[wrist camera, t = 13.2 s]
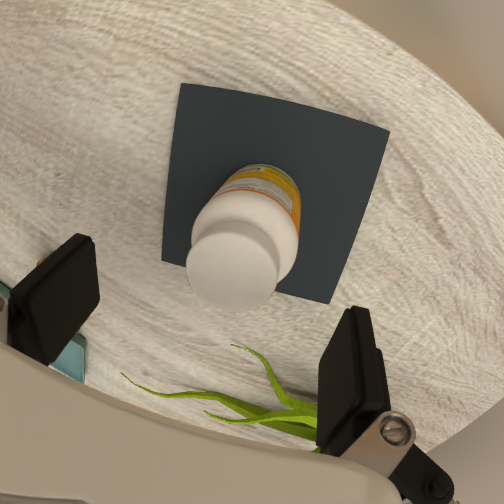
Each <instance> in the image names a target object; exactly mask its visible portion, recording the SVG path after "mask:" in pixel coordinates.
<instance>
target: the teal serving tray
mask: <svg viewBox="0 0 504 504" xmlns="http://www.w3.org/2000/svg"><path fill="white" fill-rule="evenodd" d="M10 291H11V290H10V289H8V288H7V287H6V286H4V285H3V284H1V283H0V294H3V295H4V296H6V298H7V300H8V299H9V298H10V293H9V292H10ZM85 344H86V342H85V339H84V338H83V337H82V336H80V335H78V334H77V333H76V334H75V335H74V336H73V338H72V339H71V340H70V342H69V343H68V344H67V346H66V347H65V348H64V350H63V351H62V352H61V354H60V355H59V357H58V358H57V359H56V361H55V362H54V363H50V364H49V365H51V366H53V367H54V368H56V369H57V370H59V371H60V372H62V373H64V374H65V375H67V376H69V377H70V378H72V379H74V380H75V381H77V382H80V383H82V384H84V380H85Z"/></svg>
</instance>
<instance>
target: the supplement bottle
mask: <svg viewBox="0 0 504 504" xmlns="http://www.w3.org/2000/svg"><path fill="white" fill-rule="evenodd" d="M300 215H301V199H300V194H299V191H298V188H297V186H296V184H295V183H294V181H293V180H292V179H291V178H290V177H289V176H288V175H287V174H286V173H285V172H283V171H282V170H280V169H279V168H276V167H274V166H270V165H265V164H254V165H249V166H246V167H243V168H241V169H240V170H238V171H237V172H235V173H234V174H233V175H232V176H231V177H230V178H229V179H228V180H227V181H226V182H225V183H224V184H223V185H222V187H221V188H220V189H219V190H218V191H217V192H216V193H215V195H214V196H213V197H212V198H211V199H210V200H209V201H208V203H207V204H206V205H205V206H204V208H203V209H202V210H201V212H200V213H199V215H198V217H197V218H196V220H195V223H194V226H193V229H192V237H191V243H192V248H191V250H190V251H189V254H188V256H187V260H186V274H187V278H188V281H189V283H190V285H191V287H192V289H193V290H194V291H195V293H196V294H197V295H198V296H199V297H200V298H201V299H202V300H203V301H205V302H206V303H208V304H209V305H211V306H213V307H215V308H217V309H220V310H223V311H228V312H246V311H250V310H254V309H256V308H258V307H260V306H261V305H263V304H264V303H265V302H266V301H268V300H269V298H270V297H271V296H272V294H273V293H274V291H275V288H276V285H277V283H278V282H279V281H281V280H282V279H283V278H284V277H285V276H286V275H287V274H288V273H289V271H290V270H291V268H292V266H293V264H294V262H295V259H296V255H297V250H298V240H299V228H300Z"/></svg>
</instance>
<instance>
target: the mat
mask: <svg viewBox="0 0 504 504" xmlns="http://www.w3.org/2000/svg"><path fill="white" fill-rule="evenodd" d="M389 134H390V131H388V130H386V129H383V128H380V127H377V126H374V125H371V124H368V123H365V122H362V121H359V120H355V119H352V118H349V117H346V116H342V115H339V114H335V113H332V112H328V111H325V110H321V109H317V108H314V107H310V106H306V105H302V104H298V103H294V102H289V101H285V100H281V99H276V98H272V97H267V96H262V95H257V94H252V93H246V92H241V91H235V90H229V89H223V88H217V87H210V86H203V85H195V84H187V83H181V88H180V94H179V100H178V106H177V113H176V119H175V126H174V133H173V141H172V148H171V156H170V165H169V174H168V183H167V193H166V203H165V215H164V227H163V241H162V258H161V260H162V261H165V262H168V263H172V264H176V265H179V266H183V267H186V260H187V256H188V254H189V251H190V250H191V248H192V243H191V237H192V229H193V226H194V223H195V220H196V218H197V217H198V215H199V213H200V212H201V210H202V209H203V208H204V206H205V205H206V204H207V203H208V201H209V200H210V199H211V198H212V197H213V196H214V195H215V193H216V192H217V191H218V190H219V189H220V188H221V187H222V185H223V184H224V183H225V182H226V181H227V180H228V179H229V178H230V177H231V176H232V175H233V174H234V173H235V172H237V171H238V170H240V169H241V168H243V167H246V166H249V165H254V164H265V165H270V166H274V167H276V168H279V169H280V170H282V171H283V172H285V173H286V174H287V175H288V176H289V177H290V178H291V179H292V180H293V181H294V183H295V184H296V186H297V188H298V191H299V194H300V199H301V215H300V228H299V240H298V250H297V255H296V259H295V262H294V264H293V266H292V268H291V270H290V271H289V273H288V274H287V275H286V276H285V277H284V278H283V279H282V280H281V281H279V282H278V283H277V285H276V288H275V291H276V292H280V293H284V294H288V295H292V296H296V297H300V298H304V299H308V300H312V301H316V302H320V303H324V304H329V303H330V301H331V298H332V296H333V293H334V291H335V288H336V286H337V284H338V281H339V279H340V276H341V274H342V271H343V269H344V266H345V264H346V261H347V258H348V256H349V253H350V251H351V248H352V245H353V243H354V240H355V237H356V235H357V232H358V229H359V226H360V224H361V221H362V218H363V215H364V212H365V209H366V207H367V204H368V201H369V198H370V195H371V192H372V189H373V186H374V183H375V180H376V177H377V173H378V170H379V167H380V164H381V161H382V157H383V154H384V151H385V148H386V144H387V141H388V137H389Z"/></svg>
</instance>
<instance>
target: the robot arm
mask: <svg viewBox="0 0 504 504" xmlns="http://www.w3.org/2000/svg"><path fill="white" fill-rule="evenodd" d="M9 293H10V298H9V299H8V300H7V298H6V296H4V295H3V294H0V504H460V503H459V501H456V502H454V500H453V499H452V498H453V495H454V484H453V482H452V479H451V478H450V476H449V475H448V474H447V473H446V472H445V471H443V469H441V468H440V467H439V466H438V465H437V464H436V463H435V462H434V461H433V460H431V459H430V458H429V457H428V456H427V455H426V454H425V453H424V452H423V451H422V450H421V449H419V448H418V447H417V446H416V445H415V444H414V441H415V438H416V431H415V427H414V425H413V423H412V421H411V420H410V419H409V418H408V417H407V416H405V415H404V414H402V413H400V412H397V411H391V405H390V398H389V391H388V385H387V379H386V373H385V367H384V361H383V355H382V352H381V350H380V349H378V348H376V344H375V338H374V333H373V327H372V322H371V317H370V312H369V309H367V308H363V307H358V306H352V307H351V309H348V308H346V309H345V311H344V313H343V315H342V317H341V319H340V321H339V323H338V326H337V328H336V330H335V332H334V334H333V336H332V338H331V340H330V342H329V344H328V346H327V347H326V349H325V351H324V353H323V355H322V357H321V359H320V363H319V372H318V408H317V430H316V445H317V446H320V453H314V452H309V451H304V450H298V449H292V448H287V447H282V446H276V445H272V444H267V443H262V442H258V441H253V440H248V439H244V438H240V437H235V436H231V435H227V434H223V433H219V432H216V431H212V430H208V429H205V428H201V427H198V426H194V425H191V424H188V423H184V422H181V421H178V420H175V419H172V418H169V417H165V416H162V415H160V414H157V413H154V412H151V411H148V410H145V409H143V408H140V407H137V406H134V405H132V404H129V403H127V402H124V401H122V400H119V399H117V398H114V397H112V396H109V395H107V394H105V393H102V392H100V391H98V390H95V389H93V388H91V387H88V386H86V385H84V384H82V383H80V382H77V381H75V380H73V379H71V378H69V377H67V376H65V375H63V374H61V373H59V372H57V371H55V370H53V369H51V368H49V367H48V366H49V364H50V363H54V362H55V361H56V359H57V358H58V357H59V355H60V354H61V352H62V351H63V350H64V348H65V347H66V346H67V344H68V343H69V342H70V340H71V339H72V338H73V336H74V335H75V334H76V332H77V331H78V330H79V328H80V327H81V326H82V325H83V323H84V322H85V321H86V319H87V318H88V317H89V316H90V314H91V313H92V312H93V311H94V309H95V308H96V307H97V305H98V303H99V300H100V293H99V285H98V275H97V265H96V253H95V244H94V242H93V241H92V239H91V237H89V236H86V235H83V234H79V233H76V234H75V235H73V236H72V237H71V238H70V239H69V240H67V241H66V242H65V243H64V244H63V245H61V246H60V247H59V248H58V249H57V250H55V251H54V252H53V253H52V254H51V255H50V256H48V257H47V258H46V259H45V260H44V261H43V262H41V263H40V264H39V265H38V266H37V267H36V268H35V269H34V270H32V271H31V272H30V273H29V274H28V275H27V276H26V277H25V278H24V279H23V280H22V281H20V282H19V283H18V284H17V285H16V286H15V287H14V288H13V289H12V290H11V291H10V292H9Z"/></svg>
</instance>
